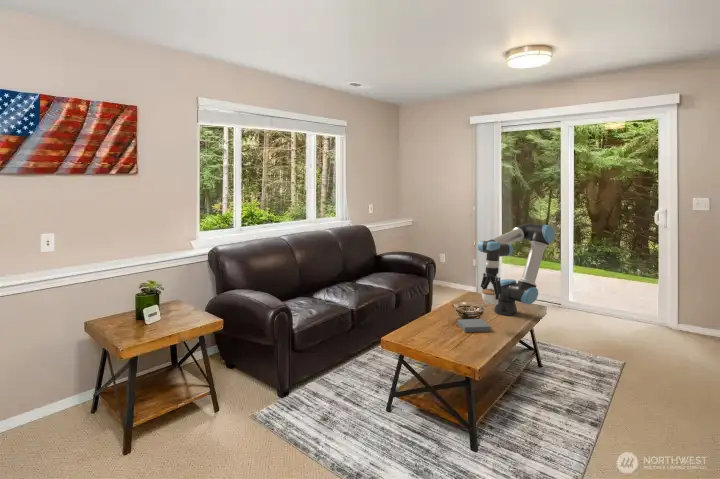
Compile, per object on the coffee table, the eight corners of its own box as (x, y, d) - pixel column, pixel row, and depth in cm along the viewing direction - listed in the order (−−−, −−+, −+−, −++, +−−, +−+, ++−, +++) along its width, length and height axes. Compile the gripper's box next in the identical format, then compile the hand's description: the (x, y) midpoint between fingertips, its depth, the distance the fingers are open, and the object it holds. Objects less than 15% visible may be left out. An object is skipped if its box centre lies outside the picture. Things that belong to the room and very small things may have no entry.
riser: (481, 323, 267) (481, 318, 266) (490, 331, 253) (490, 326, 252) (457, 324, 265) (457, 319, 265) (464, 332, 251) (464, 327, 251)
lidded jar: (500, 306, 251) (501, 291, 250) (482, 305, 253) (482, 290, 252) (497, 301, 262) (498, 287, 261) (480, 300, 264) (481, 285, 262)
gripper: (476, 263, 264) (474, 297, 267) (498, 271, 242) (496, 307, 245) (486, 263, 266) (484, 296, 269) (509, 270, 245) (507, 306, 248)
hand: (490, 301), depth 257 cm, fingers closed on lidded jar, 11 cm apart
